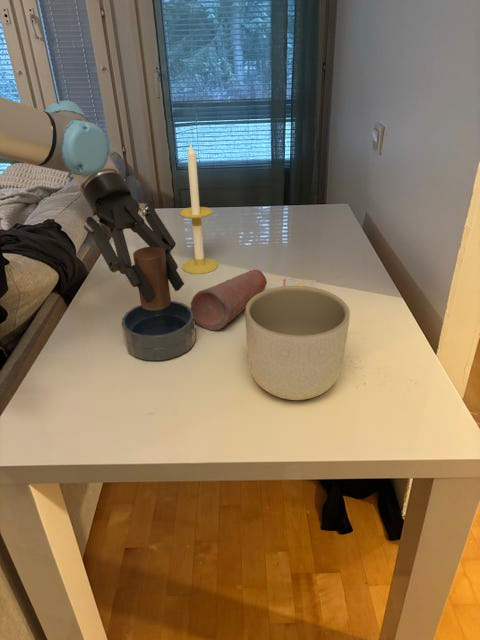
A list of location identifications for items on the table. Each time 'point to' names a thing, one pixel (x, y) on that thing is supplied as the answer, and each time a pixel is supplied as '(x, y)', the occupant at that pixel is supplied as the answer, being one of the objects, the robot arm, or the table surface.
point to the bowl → (159, 331)
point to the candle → (196, 222)
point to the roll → (154, 276)
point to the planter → (296, 340)
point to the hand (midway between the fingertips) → (165, 293)
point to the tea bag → (299, 282)
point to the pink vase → (226, 299)
